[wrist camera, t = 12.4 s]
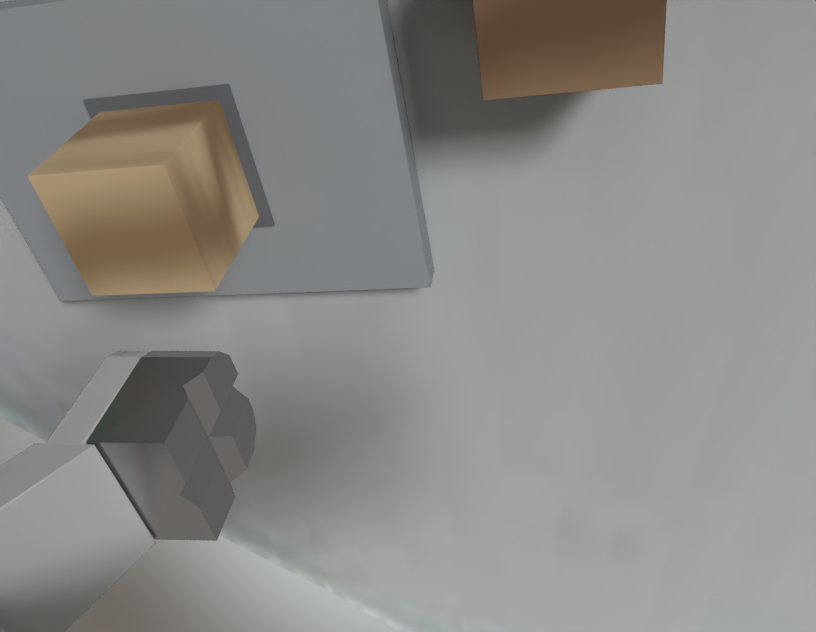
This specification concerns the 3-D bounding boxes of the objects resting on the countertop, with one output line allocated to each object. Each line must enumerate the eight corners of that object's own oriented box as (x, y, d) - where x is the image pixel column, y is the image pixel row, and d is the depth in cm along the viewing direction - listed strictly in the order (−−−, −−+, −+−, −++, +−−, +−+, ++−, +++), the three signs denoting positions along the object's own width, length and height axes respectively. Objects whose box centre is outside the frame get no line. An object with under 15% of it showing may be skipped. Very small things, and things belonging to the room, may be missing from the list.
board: (-78, 13, 28) (-102, 25, 27) (377, -54, 24) (369, -43, 23) (73, 285, 36) (59, 302, 35) (434, 270, 32) (430, 288, 31)
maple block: (99, 112, 28) (27, 175, 24) (220, 99, 27) (163, 164, 23) (149, 223, 31) (92, 295, 27) (259, 216, 30) (215, 291, 26)
